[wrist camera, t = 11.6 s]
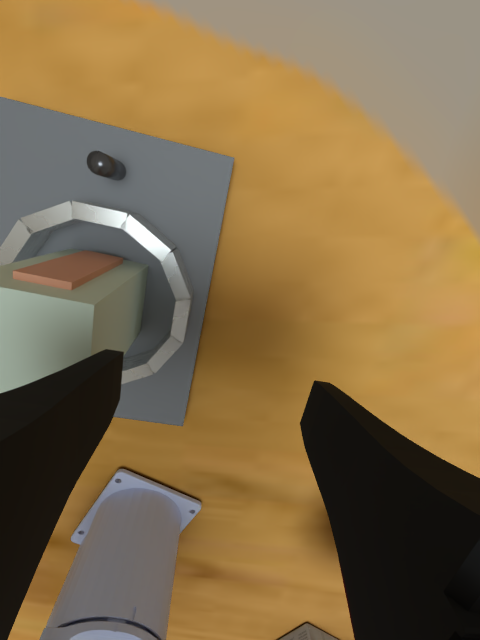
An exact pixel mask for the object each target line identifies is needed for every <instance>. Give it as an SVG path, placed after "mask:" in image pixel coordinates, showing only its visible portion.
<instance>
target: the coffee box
mask: <svg viewBox="0 0 480 640" xmlns="http://www.w3.org/2000/svg"><path fill="white" fill-rule="evenodd" d="M279 640H338V639H336V638H334V637H332V636H331V635H329V634H327V633H325V632H323V631H321V630H319V629H317V628H315V627H314V626H312V625H310V624H308V623H306V624H304V625H302V626H301V627H299V628H298V629H296V630H294V631H292V632H291V633H289V634H287V635H286V636H284V637H282V638H281V639H279Z"/></svg>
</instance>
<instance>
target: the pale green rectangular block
mask: <svg viewBox="0 0 480 640" xmlns="http://www.w3.org/2000/svg"><path fill="white" fill-rule="evenodd" d="M148 266H149V265H146V264H142V263H137V262H133V261H128V260H123V258H121V257H116V256H111V255H107V254H102V253H98V252H93V251H88V250H84V251H81V250H77V249H72V248H71V249H66V250H62V251H58V252H54V253H50V254H46V255H42V256H38V257H34V258H30V259H26V260H22V261H18V262H14V263H10V264H5V265H1V266H0V393H3V392H6V391H9V390H12V389H15V388H18V387H21V386H23V385H26V384H29V383H31V382H34V381H36V380H39V379H41V378H43V377H46V376H48V375H50V374H53V373H55V372H58V371H60V370H62V369H64V368H66V367H69V366H71V365H73V364H75V363H77V362H79V361H81V360H83V359H85V358H87V357H90V356H92V355H94V354H96V353H98V352H100V351H103V350H105V349H109V350H116V351H122V352H124V355H125V354H126V352H127V351H128V349H129V348H130V346H131V345H132V343H133V342H134V340H135V339H136V337H137V336H138V334H139V333H140V329H141V321H142V313H143V305H144V297H145V290H146V282H147V274H148Z"/></svg>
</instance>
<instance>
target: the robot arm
mask: <svg viewBox="0 0 480 640" xmlns="http://www.w3.org/2000/svg"><path fill="white" fill-rule="evenodd" d="M123 356H124V352H122V351H116V350H109V349H105V350H103V351H100V352H98V353H96V354H94V355H92V356H90V357H87V358H85V359H83V360H81V361H79V362H77V363H75V364H73V365H71V366H69V367H66V368H64V369H62V370H60V371H58V372H55V373H53V374H50V375H48V376H46V377H43V378H41V379H39V380H36V381H34V382H31V383H29V384H26V385H23V386H21V387H18V388H15V389H12V390H9V391H6V392H3V393H0V640H7V639H8V636H9V634H10V631H11V629H12V627H13V624H14V622H15V619H16V617H17V614H18V612H19V609H20V607H21V605H22V602H23V600H24V598H25V595H26V593H27V590H28V588H29V586H30V583H31V581H32V579H33V576H34V574H35V571H36V569H37V567H38V564H39V562H40V560H41V558H42V555H43V553H44V551H45V549H46V546H47V544H48V542H49V539H50V537H51V535H52V533H53V530H54V528H55V526H56V524H57V522H58V519H59V517H60V515H61V513H62V511H63V508H64V506H65V504H66V502H67V500H68V498H69V495H70V494H71V492H72V490H73V488H74V486H75V484H76V482H77V480H78V479H79V477H80V475H81V473H82V472H83V470H84V468H85V467H86V465H87V463H88V461H89V460H90V458H91V456H92V455H93V453H94V451H95V449H96V448H97V446H98V444H99V442H100V441H101V439H102V437H103V435H104V434H105V432H106V430H107V428H108V427H109V425H110V423H111V420H112V418H113V416H114V413H115V411H116V408H117V406H118V403H119V401H120V394H121V381H122V369H123ZM300 425H301V431H302V436H303V441H304V446H305V449H306V452H307V455H308V458H309V461H310V464H311V467H312V470H313V473H314V475H315V478H316V481H317V484H318V487H319V490H320V492H321V495H322V498H323V501H324V504H325V507H326V510H327V513H328V516H329V520H330V524H331V528H332V532H333V536H334V540H335V544H336V548H337V552H338V557H339V561H340V566H341V570H342V575H343V579H344V584H345V589H346V594H347V599H348V604H349V609H350V614H351V620H352V625H353V630H354V636H355V640H480V478H478V477H476V476H474V475H472V474H470V473H468V472H466V471H464V470H462V469H460V468H458V467H456V466H454V465H452V464H450V463H449V462H447V461H445V460H443V459H441V458H439V457H438V456H436V455H434V454H432V453H430V452H429V451H427V450H425V449H424V448H422V447H421V446H419V445H417V444H416V443H414V442H412V441H411V440H409V439H407V438H406V437H404V436H403V435H401V434H400V433H398V432H397V431H395V430H394V429H393V428H391V427H390V426H388V425H387V424H385V423H384V422H383V421H381V420H380V419H378V418H377V417H376V416H374V415H373V414H372V413H370V412H369V411H368V410H366V409H365V408H364V407H362V406H361V405H360V404H358V403H357V402H356V401H354V400H353V399H352V398H351V397H349V396H348V395H347V394H345V393H344V392H342V391H341V390H340V389H338V388H337V387H335V386H334V385H332V384H330V383H328V382H321V381H314V383H313V386H312V389H311V392H310V395H309V398H308V401H307V404H306V407H305V410H304V413H303V416H302V419H301V422H300ZM200 509H201V502H200V501H198V500H196V499H193V498H191V497H189V496H186V495H184V494H182V493H179V492H177V491H175V490H172V489H170V488H168V487H165V486H163V485H161V484H158V483H156V482H154V481H151V480H149V479H147V478H144V477H142V476H140V475H137V474H135V473H133V472H130V471H128V470H126V469H119V470H117V471H116V473H115V474H114V476H113V477H112V479H111V480H110V481H109V483H108V484H107V486H106V487H105V489H104V490H103V491H102V493H101V494H100V496H99V497H98V498H97V500H96V501H95V503H94V504H93V506H92V507H91V508H90V510H89V511H88V513H87V514H86V516H85V517H84V518H83V520H82V521H81V523H80V524H79V525H78V527H77V528H76V530H75V531H74V533H73V534H72V536H71V541H72V542H74V543H77V544H80V547H79V549H78V551H77V554H76V556H75V558H74V561H73V563H72V566H71V568H70V570H69V573H68V575H67V577H66V580H65V582H64V584H63V587H62V589H61V591H60V594H59V596H58V599H57V601H56V603H55V606H54V608H53V610H52V613H51V615H50V617H49V620H48V622H47V625H46V628H44V630H43V633H42V635H41V637H40V640H166V635H167V627H168V619H169V612H170V604H171V596H172V589H173V581H174V573H175V565H176V558H177V550H178V542H179V534H180V533H181V532H182V531H183V529H184V528H185V527H186V526H187V525H188V524H189V522H190V521H191V520H192V519H193V518H194V517H195V515H196V514H197V513H198V512H199V511H200Z"/></svg>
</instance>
